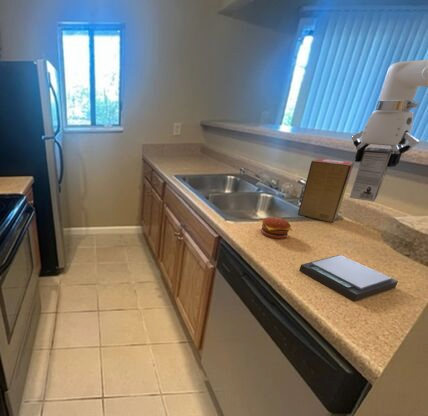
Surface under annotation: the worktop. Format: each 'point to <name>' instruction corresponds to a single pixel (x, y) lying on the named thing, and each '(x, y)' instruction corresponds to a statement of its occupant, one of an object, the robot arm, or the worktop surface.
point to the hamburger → (275, 227)
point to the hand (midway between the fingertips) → (374, 163)
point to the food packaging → (325, 189)
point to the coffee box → (371, 173)
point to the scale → (348, 277)
